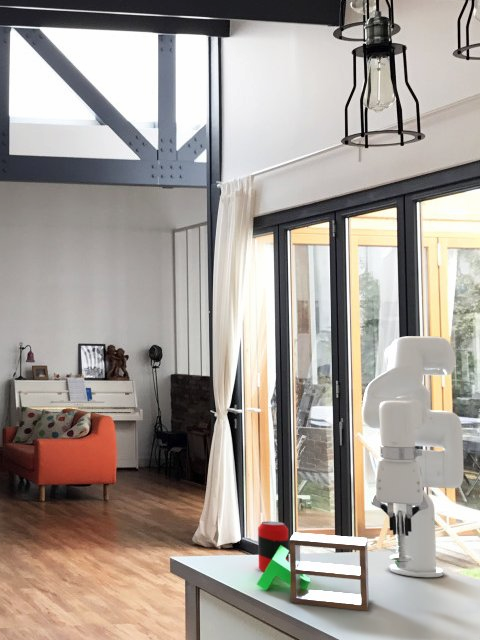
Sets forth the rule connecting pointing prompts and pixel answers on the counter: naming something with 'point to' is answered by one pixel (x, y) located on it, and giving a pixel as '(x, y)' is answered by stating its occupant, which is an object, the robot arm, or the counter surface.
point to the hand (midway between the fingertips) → (400, 533)
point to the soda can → (271, 541)
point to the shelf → (328, 572)
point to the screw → (401, 544)
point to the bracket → (280, 570)
